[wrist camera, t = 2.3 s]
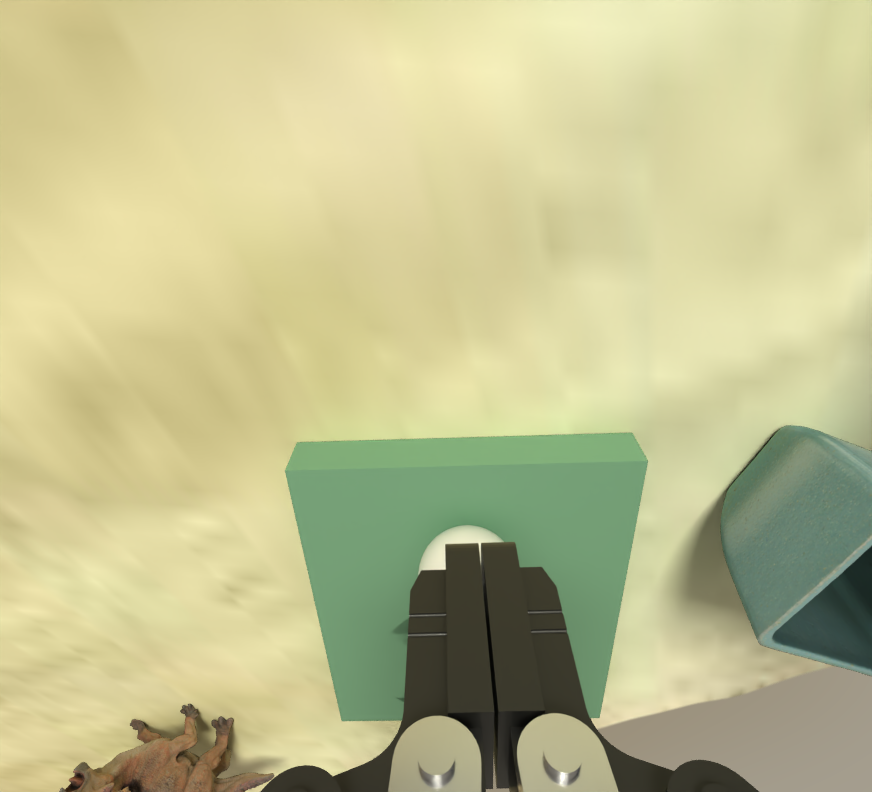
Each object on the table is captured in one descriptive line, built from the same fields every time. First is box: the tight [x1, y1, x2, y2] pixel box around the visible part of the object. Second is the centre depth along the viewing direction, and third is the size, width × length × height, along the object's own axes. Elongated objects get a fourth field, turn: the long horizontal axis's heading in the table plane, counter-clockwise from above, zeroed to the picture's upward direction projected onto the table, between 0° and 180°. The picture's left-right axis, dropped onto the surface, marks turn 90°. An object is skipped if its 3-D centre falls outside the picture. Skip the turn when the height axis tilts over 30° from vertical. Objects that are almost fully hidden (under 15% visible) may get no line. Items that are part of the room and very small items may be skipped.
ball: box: [418, 525, 504, 575], centre depth 27 cm, size 5×5×5 cm
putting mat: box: [285, 433, 648, 721], centre depth 33 cm, size 18×22×2 cm
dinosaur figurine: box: [59, 704, 274, 792], centre depth 38 cm, size 14×6×9 cm, turn 55°
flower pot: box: [721, 425, 872, 676], centre depth 26 cm, size 9×9×9 cm
